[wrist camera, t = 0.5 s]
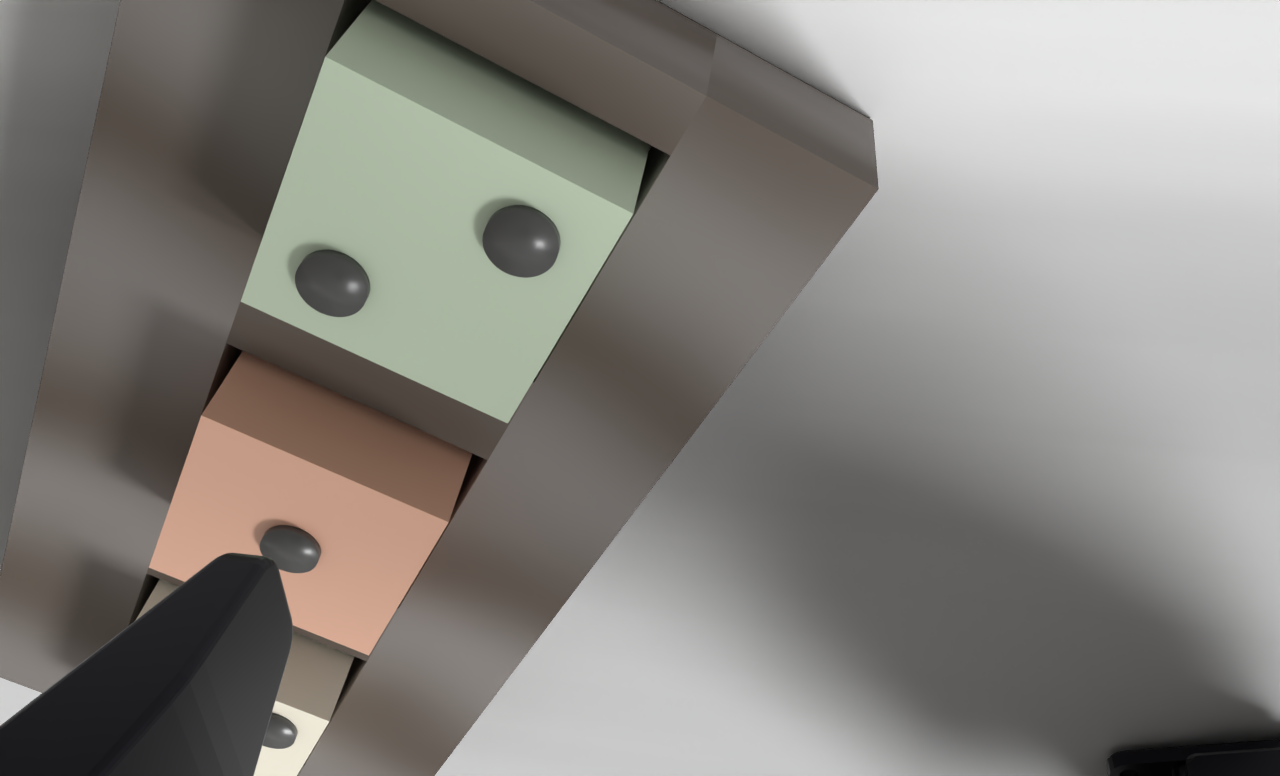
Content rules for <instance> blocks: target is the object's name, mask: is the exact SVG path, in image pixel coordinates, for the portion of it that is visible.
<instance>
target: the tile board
mask: <svg viewBox="0 0 1280 776" xmlns="http://www.w3.org/2000/svg"><path fill="white" fill-rule="evenodd" d="M376 1H377V2H379V3H381V4H383V5H385V6H387V7H389V8H391V9H393V10H395V11H396V12H398V13H400V14H402V15H404V16H406V17H408V18H410V19H412V20H414V21H415V22H417V23H419V24H421V25H423V26H425V27H427V28H429V29H431V30H433V31H435V32H436V33H438V34H440V35H442V36H444V37H446V38H448V39H450V40H452V41H454V42H455V43H457V44H459V45H461V46H463V47H465V48H467V49H469V50H471V51H473V52H474V53H476V54H478V55H480V56H482V57H484V58H486V59H488V60H490V61H492V62H493V63H495V64H497V65H499V66H501V67H503V68H505V69H507V70H509V71H511V72H512V73H514V74H516V75H518V76H520V77H522V78H524V79H526V80H528V81H530V82H532V83H533V84H535V85H537V86H539V87H541V88H543V89H545V90H547V91H549V92H551V93H552V94H554V95H556V96H558V97H560V98H562V99H564V100H566V101H568V102H570V103H571V104H573V105H575V106H577V107H579V108H581V109H583V110H585V111H587V112H589V113H590V114H592V115H594V116H596V117H598V118H600V119H602V120H604V121H606V122H608V123H609V124H611V125H613V126H615V127H617V128H619V129H621V130H623V131H625V132H627V133H629V134H630V135H632V136H634V137H636V138H638V139H640V140H642V141H644V142H646V143H648V144H649V145H651V146H652V147H651V148H650V150H649V152H648V156H647V160H646V164H645V168H644V172H643V176H642V180H641V184H640V188H639V193H638V197H637V201H636V205H635V209H634V213H633V215H632V217H631V219H630V220H629V222H628V224H627V225H626V227H625V229H624V230H623V232H622V234H621V235H620V237H619V239H618V240H617V242H616V244H615V245H614V247H613V249H612V250H611V252H610V254H609V255H608V257H607V259H606V260H605V262H604V264H603V265H602V267H601V269H600V270H599V272H598V274H597V275H596V277H595V279H594V280H593V282H592V284H591V285H590V287H589V289H588V290H587V292H586V294H585V295H584V297H583V299H582V300H581V302H580V304H579V305H578V307H577V309H576V310H575V312H574V314H573V315H572V317H571V319H570V320H569V322H568V324H567V325H566V327H565V329H564V330H563V332H562V334H561V335H560V337H559V339H558V340H557V342H556V344H555V346H554V347H553V349H552V351H551V352H550V354H549V356H548V357H547V359H546V361H545V362H544V364H543V366H542V367H541V369H540V371H539V372H538V374H537V376H536V377H535V379H534V381H533V382H532V384H531V386H530V387H529V389H528V391H527V392H526V394H525V396H524V397H523V399H522V401H521V402H520V404H519V406H518V407H517V409H516V411H515V412H514V414H513V416H512V417H511V419H510V421H509V422H508V423H506V422H503V421H501V420H499V419H497V418H495V417H492V416H490V415H488V414H486V413H484V412H481V411H479V410H477V409H475V408H473V407H470V406H468V405H466V404H464V403H462V402H460V401H457V400H455V399H453V398H451V397H449V396H446V395H444V394H442V393H440V392H438V391H435V390H433V389H431V388H429V387H427V386H425V385H422V384H420V383H418V382H416V381H414V380H411V379H409V378H407V377H405V376H403V375H400V374H398V373H396V372H394V371H392V370H389V369H387V368H385V367H383V366H381V365H379V364H376V363H374V362H372V361H370V360H368V359H365V358H363V357H361V356H359V355H357V354H354V353H352V352H350V351H348V350H346V349H343V348H341V347H339V346H337V345H335V344H333V343H330V342H328V341H326V340H324V339H322V338H319V337H317V336H315V335H313V334H311V333H308V332H306V331H304V330H302V329H300V328H297V327H295V326H293V325H291V324H289V323H287V322H284V321H282V320H280V319H278V318H276V317H273V316H271V315H269V314H267V313H265V312H262V311H260V310H258V309H256V308H254V307H252V306H249V305H247V304H245V303H243V302H241V299H242V296H243V293H244V290H245V287H246V285H247V282H248V279H249V276H250V273H251V270H252V267H253V264H254V261H255V258H256V256H257V253H258V250H259V247H260V244H261V241H262V238H263V235H264V232H265V230H266V227H267V224H268V221H269V218H270V215H271V212H272V209H273V206H274V203H275V201H276V198H277V195H278V192H279V189H280V186H281V183H282V180H283V177H284V175H285V172H286V169H287V166H288V163H289V160H290V157H291V154H292V151H293V148H294V146H295V143H296V140H297V137H298V134H299V131H300V128H301V125H302V122H303V120H304V117H305V114H306V111H307V108H308V105H309V102H310V99H311V96H312V94H313V91H314V88H315V85H316V82H317V79H318V76H319V73H320V70H321V67H322V65H323V62H324V59H325V56H326V55H327V54H328V53H329V51H330V50H331V49H332V48H333V47H334V45H335V44H336V43H337V42H338V41H339V39H340V38H341V37H342V36H343V34H344V33H345V32H346V31H347V30H348V28H349V27H350V26H351V25H352V24H353V22H354V21H355V20H356V19H357V17H358V16H359V15H360V14H361V13H362V11H363V10H364V9H365V8H366V6H367V5H368V4H369V3H370V2H371V0H121V1H120V5H119V10H118V15H117V20H116V24H115V29H114V34H113V39H112V44H111V48H110V53H109V58H108V63H107V67H106V72H105V77H104V82H103V87H102V91H101V96H100V101H99V106H98V110H97V115H96V120H95V125H94V130H93V134H92V139H91V144H90V149H89V153H88V158H87V163H86V168H85V173H84V177H83V182H82V187H81V192H80V196H79V201H78V206H77V211H76V216H75V220H74V225H73V230H72V235H71V239H70V244H69V249H68V254H67V259H66V263H65V268H64V273H63V278H62V283H61V287H60V292H59V297H58V302H57V306H56V311H55V316H54V321H53V326H52V330H51V335H50V340H49V345H48V349H47V354H46V359H45V364H44V369H43V373H42V378H41V383H40V388H39V392H38V397H37V402H36V407H35V412H34V416H33V421H32V426H31V431H30V435H29V440H28V445H27V450H26V455H25V459H24V464H23V469H22V474H21V478H20V483H19V488H18V493H17V498H16V502H15V507H14V512H13V517H12V521H11V526H10V531H9V536H8V541H7V545H6V550H5V555H4V560H3V564H2V569H1V574H0V677H1V678H4V679H6V680H9V681H12V682H15V683H17V684H20V685H23V686H25V687H28V688H31V689H33V690H36V691H39V692H42V693H43V692H44V691H46V690H47V689H48V688H49V687H51V686H52V685H53V684H55V683H56V682H57V681H58V680H60V679H61V678H62V677H64V676H65V675H66V674H67V673H69V672H70V671H71V670H73V669H74V668H75V667H76V666H78V665H79V664H80V663H82V662H83V661H84V660H85V659H87V658H88V657H89V656H91V655H92V654H93V653H94V652H96V651H97V650H98V649H100V648H101V647H102V646H103V645H105V644H106V643H107V642H109V641H110V640H111V639H112V638H114V637H115V636H116V635H118V634H119V633H120V632H121V631H123V630H124V629H125V628H127V627H128V626H129V625H130V624H132V623H133V622H134V621H136V619H137V617H138V615H139V614H140V612H141V610H142V609H143V607H144V605H145V604H146V602H147V600H148V598H149V597H150V595H151V593H152V592H153V590H154V588H155V586H156V585H157V583H158V581H159V580H160V579H162V580H164V581H167V582H169V583H172V584H174V585H177V586H180V585H182V584H183V583H184V581H181V580H179V579H176V578H174V577H171V576H169V575H166V574H164V573H161V572H159V571H156V570H154V569H151V568H149V565H150V562H151V559H152V557H153V554H154V551H155V548H156V545H157V542H158V539H159V536H160V533H161V530H162V528H163V525H164V522H165V519H166V516H167V513H168V510H169V507H170V504H171V502H172V499H173V496H174V493H175V490H176V487H177V484H178V481H179V478H180V475H181V473H182V470H183V467H184V464H185V461H186V458H187V455H188V452H189V449H190V447H191V444H192V441H193V438H194V435H195V432H196V429H197V426H198V423H199V421H200V418H201V415H202V413H203V412H204V410H205V409H206V407H207V406H208V404H209V403H210V401H211V399H212V398H213V396H214V395H215V393H216V392H217V390H218V389H219V387H220V386H221V384H222V382H223V381H224V379H225V378H226V376H227V375H228V373H229V372H230V370H231V368H232V367H233V365H234V364H235V362H236V361H237V359H238V358H239V356H240V354H241V353H242V351H245V352H247V353H249V354H252V355H254V356H256V357H258V358H261V359H263V360H265V361H267V362H269V363H272V364H274V365H276V366H278V367H281V368H283V369H285V370H287V371H290V372H292V373H294V374H296V375H299V376H301V377H303V378H305V379H307V380H310V381H312V382H314V383H316V384H319V385H321V386H323V387H325V388H328V389H330V390H332V391H334V392H336V393H339V394H341V395H343V396H345V397H348V398H350V399H352V400H354V401H357V402H359V403H361V404H363V405H366V406H368V407H370V408H372V409H374V410H377V411H379V412H381V413H383V414H386V415H388V416H390V417H392V418H395V419H397V420H399V421H401V422H403V423H406V424H408V425H410V426H412V427H415V428H417V429H419V430H421V431H424V432H426V433H428V434H430V435H433V436H435V437H437V438H439V439H441V440H444V441H446V442H448V443H450V444H453V445H455V446H457V447H459V448H462V449H464V450H466V451H468V452H470V453H472V456H471V459H470V462H469V465H468V468H467V471H466V474H465V476H464V479H463V482H462V485H461V488H460V491H459V494H458V497H457V500H456V502H455V505H454V508H453V511H452V514H451V517H450V520H449V523H448V524H447V526H446V528H445V529H444V531H443V533H442V534H441V536H440V538H439V539H438V541H437V543H436V544H435V546H434V548H433V549H432V551H431V553H430V554H429V556H428V558H427V559H426V561H425V563H424V564H423V566H422V568H421V569H420V571H419V573H418V574H417V576H416V578H415V579H414V581H413V583H412V584H411V586H410V588H409V589H408V591H407V593H406V594H405V596H404V598H403V599H402V601H401V603H400V604H399V606H398V608H397V609H396V611H395V613H394V614H393V616H392V618H391V619H390V621H389V623H388V624H387V626H386V628H385V629H384V631H383V633H382V634H381V636H380V638H379V639H378V641H377V643H376V644H375V646H374V648H373V649H372V651H371V653H370V654H369V655H366V654H364V653H361V652H359V651H356V650H354V649H351V648H349V647H346V646H344V645H341V644H339V643H336V642H334V641H331V640H329V639H326V638H324V637H321V636H319V635H316V634H314V633H311V632H309V631H306V630H304V629H301V628H299V627H296V626H294V625H293V632H295V633H297V634H300V635H302V636H305V637H307V638H310V639H312V640H315V641H317V642H320V643H322V644H325V645H327V646H330V647H332V648H335V649H337V650H340V651H342V652H345V653H347V654H350V655H352V656H354V659H353V662H352V664H351V667H350V669H349V672H348V675H347V677H346V680H345V682H344V685H343V687H342V690H341V693H340V695H339V698H338V700H337V703H336V706H335V708H334V711H333V713H332V716H331V719H330V721H329V723H328V725H327V726H326V728H325V730H324V731H323V733H322V735H321V736H320V738H319V740H318V741H317V743H316V745H315V746H314V748H313V750H312V751H311V753H310V755H309V756H308V758H307V760H306V761H305V763H304V765H303V766H302V768H301V770H300V771H299V773H298V775H297V776H435V774H436V773H437V772H438V770H439V769H440V768H441V766H442V765H443V764H444V762H445V761H446V760H447V758H448V757H449V756H450V754H451V753H452V752H453V750H454V749H455V748H456V746H457V745H458V744H459V743H460V741H461V740H462V739H463V737H464V736H465V735H466V733H467V732H468V731H469V729H470V728H471V727H472V725H473V724H474V723H475V721H476V720H477V719H478V717H479V716H480V715H481V713H482V712H483V711H484V709H485V708H486V707H487V706H488V704H489V703H490V702H491V700H492V699H493V698H494V696H495V695H496V694H497V692H498V691H499V690H500V688H501V687H502V686H503V684H504V683H505V682H506V680H507V679H508V678H509V676H510V675H511V674H512V672H513V671H514V670H515V669H516V667H517V666H518V665H519V663H520V662H521V661H522V659H523V658H524V657H525V655H526V654H527V653H528V651H529V650H530V649H531V647H532V646H533V645H534V643H535V642H536V641H537V639H538V638H539V637H540V635H541V634H542V633H543V632H544V630H545V629H546V628H547V626H548V625H549V624H550V622H551V621H552V620H553V618H554V617H555V616H556V614H557V613H558V612H559V610H560V609H561V608H562V606H563V605H564V604H565V602H566V601H567V600H568V599H569V597H570V596H571V595H572V593H573V592H574V591H575V589H576V588H577V587H578V585H579V584H580V583H581V581H582V580H583V579H584V577H585V576H586V575H587V573H588V572H589V571H590V569H591V568H592V567H593V565H594V564H595V563H596V562H597V560H598V559H599V558H600V556H601V555H602V554H603V552H604V551H605V550H606V548H607V547H608V546H609V544H610V543H611V542H612V540H613V539H614V538H615V536H616V535H617V534H618V532H619V531H620V530H621V528H622V527H623V526H624V525H625V523H626V522H627V521H628V519H629V518H630V517H631V515H632V514H633V513H634V511H635V510H636V509H637V507H638V506H639V505H640V503H641V502H642V501H643V499H644V498H645V497H646V495H647V494H648V493H649V492H650V490H651V489H652V488H653V486H654V485H655V484H656V482H657V481H658V480H659V478H660V477H661V476H662V474H663V473H664V472H665V470H666V469H667V468H668V466H669V465H670V464H671V462H672V461H673V460H674V458H675V457H676V456H677V455H678V453H679V452H680V451H681V449H682V448H683V447H684V445H685V444H686V443H687V441H688V440H689V439H690V437H691V436H692V435H693V433H694V432H695V431H696V429H697V428H698V427H699V425H700V424H701V423H702V421H703V420H704V419H705V418H706V416H707V415H708V414H709V412H710V411H711V410H712V408H713V407H714V406H715V404H716V403H717V402H718V400H719V399H720V398H721V396H722V395H723V394H724V392H725V391H726V390H727V388H728V387H729V386H730V385H731V383H732V382H733V381H734V379H735V378H736V377H737V375H738V374H739V373H740V371H741V370H742V369H743V367H744V366H745V365H746V363H747V362H748V361H749V359H750V358H751V357H752V355H753V354H754V353H755V351H756V350H757V349H758V348H759V346H760V345H761V344H762V342H763V341H764V340H765V338H766V337H767V336H768V334H769V333H770V332H771V330H772V329H773V328H774V326H775V325H776V324H777V322H778V321H779V320H780V318H781V317H782V316H783V314H784V313H785V312H786V311H787V309H788V308H789V307H790V305H791V304H792V303H793V301H794V300H795V299H796V297H797V296H798V295H799V293H800V292H801V291H802V289H803V288H804V287H805V285H806V284H807V283H808V281H809V280H810V279H811V277H812V276H813V275H814V274H815V272H816V271H817V270H818V268H819V267H820V266H821V264H822V263H823V262H824V260H825V259H826V258H827V256H828V255H829V254H830V252H831V251H832V250H833V248H834V247H835V246H836V244H837V243H838V242H839V241H840V239H841V238H842V237H843V235H844V234H845V233H846V231H847V230H848V229H849V227H850V226H851V225H852V223H853V222H854V221H855V219H856V218H857V217H858V215H859V214H860V213H861V211H862V210H863V209H864V207H865V206H866V205H867V204H868V202H869V201H870V200H871V198H872V197H873V196H874V194H875V193H876V192H877V190H878V178H877V166H876V154H875V142H874V130H873V120H871V119H869V118H867V117H865V116H864V115H862V114H860V113H858V112H856V111H855V110H853V109H851V108H849V107H847V106H846V105H844V104H842V103H840V102H838V101H837V100H835V99H833V98H831V97H829V96H828V95H826V94H824V93H822V92H820V91H819V90H817V89H815V88H813V87H811V86H810V85H808V84H806V83H804V82H802V81H801V80H799V79H797V78H795V77H793V76H792V75H790V74H788V73H786V72H784V71H783V70H781V69H779V68H777V67H775V66H774V65H772V64H770V63H768V62H766V61H765V60H763V59H761V58H759V57H757V56H756V55H754V54H752V53H750V52H748V51H747V50H745V49H743V48H741V47H739V46H738V45H736V44H734V43H732V42H730V41H729V40H727V39H725V38H723V37H721V36H720V35H718V34H716V33H714V32H712V31H711V30H709V29H707V28H705V27H703V26H702V25H700V24H698V23H696V22H694V21H693V20H691V19H689V18H687V17H685V16H684V15H682V14H680V13H678V12H676V11H675V10H673V9H671V8H669V7H667V6H666V5H664V4H662V3H660V2H658V1H657V0H376Z"/></svg>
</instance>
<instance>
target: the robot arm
mask: <svg viewBox="0 0 1280 776" xmlns="http://www.w3.org/2000/svg"><path fill="white" fill-rule="evenodd" d="M292 637H293V623H292V617H291V613H290V610H289V606H288V602H287V598H286V594H285V591H284V587H283V583H282V579H281V576H280V572H279V569H278V566H277V564H276V563H275V562H274V560H273V559H271V558H270V557H267V556H260V555H250V554H241V553H226V554H223V555H221V556H219V557H217V558H215V559H214V560H213V561H211V562H210V563H209V564H207V565H206V566H205V567H204V568H202V569H201V570H200V571H198V572H197V573H196V574H195V575H193V576H192V577H191V578H189V579H188V580H187V581H186V582H184V583H183V584H182V585H180V586H179V587H178V588H177V589H175V590H174V591H173V592H171V593H170V594H169V595H168V596H166V597H165V598H164V599H162V600H161V601H160V602H159V603H157V604H156V605H155V606H153V607H152V608H151V609H150V610H148V611H147V612H146V613H144V614H143V615H142V616H141V617H139V618H138V619H137V620H136V621H134V622H133V623H132V624H130V625H129V626H128V627H127V628H125V629H124V630H123V631H121V632H120V633H119V634H118V635H116V636H115V637H114V638H112V639H111V640H110V641H109V642H107V643H106V644H105V645H103V646H102V647H101V648H100V649H98V650H97V651H96V652H94V653H93V654H92V655H91V656H89V657H88V658H87V659H85V660H84V661H83V662H82V663H80V664H79V665H78V666H76V667H75V668H74V669H73V670H71V671H70V672H69V673H67V674H66V675H65V676H64V677H62V678H61V679H60V680H58V681H57V682H56V683H55V684H53V685H52V686H51V687H49V688H48V689H47V690H46V691H44V692H43V693H42V694H40V695H39V696H38V697H37V698H35V699H34V700H33V701H31V702H30V703H29V704H28V705H26V706H25V707H24V708H23V709H21V710H20V711H19V712H17V713H16V714H15V715H14V716H12V717H11V718H10V719H8V720H7V721H6V722H5V723H3V724H2V725H1V726H0V776H254V773H255V769H256V766H257V762H258V759H259V755H260V752H261V749H262V745H263V742H264V738H265V735H266V731H267V728H268V725H269V721H270V718H271V714H272V711H273V707H274V704H275V701H276V697H277V694H278V690H279V687H280V683H281V680H282V677H283V673H284V670H285V666H286V663H287V660H288V656H289V653H290V649H291V644H292ZM1107 770H1108V776H1280V740H1269V741H1255V742H1242V743H1228V744H1215V745H1201V746H1188V747H1174V748H1161V749H1147V750H1134V751H1123V752H1118V753H1116V754H1113V755H1111V756H1110V757H1109V758H1108V760H1107Z"/></svg>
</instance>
